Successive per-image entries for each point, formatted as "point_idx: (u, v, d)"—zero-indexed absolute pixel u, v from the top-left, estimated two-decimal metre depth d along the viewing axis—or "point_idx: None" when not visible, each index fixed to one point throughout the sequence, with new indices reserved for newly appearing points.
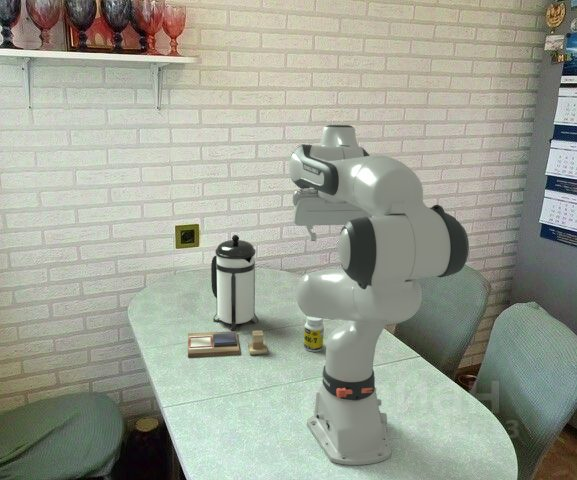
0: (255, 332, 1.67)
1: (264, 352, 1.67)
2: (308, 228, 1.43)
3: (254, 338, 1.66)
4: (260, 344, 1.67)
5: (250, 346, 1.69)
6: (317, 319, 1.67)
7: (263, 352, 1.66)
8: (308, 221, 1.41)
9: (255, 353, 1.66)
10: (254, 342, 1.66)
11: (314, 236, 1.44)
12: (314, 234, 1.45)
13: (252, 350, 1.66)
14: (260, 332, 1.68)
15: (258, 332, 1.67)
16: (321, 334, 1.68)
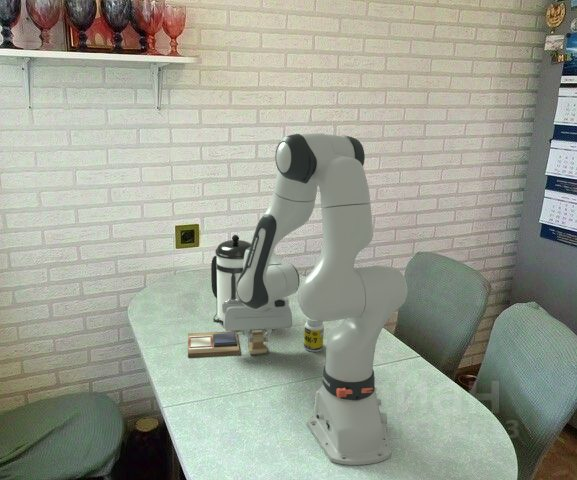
0: (255, 332, 1.67)
1: (264, 352, 1.67)
2: (245, 332, 1.65)
3: (254, 338, 1.66)
4: (260, 344, 1.67)
5: (250, 346, 1.68)
6: None
7: (263, 351, 1.66)
8: (236, 327, 1.64)
9: (255, 353, 1.66)
10: (254, 342, 1.66)
11: (251, 338, 1.66)
12: (251, 336, 1.67)
13: (252, 350, 1.66)
14: (260, 332, 1.68)
15: (258, 332, 1.67)
16: (321, 334, 1.68)
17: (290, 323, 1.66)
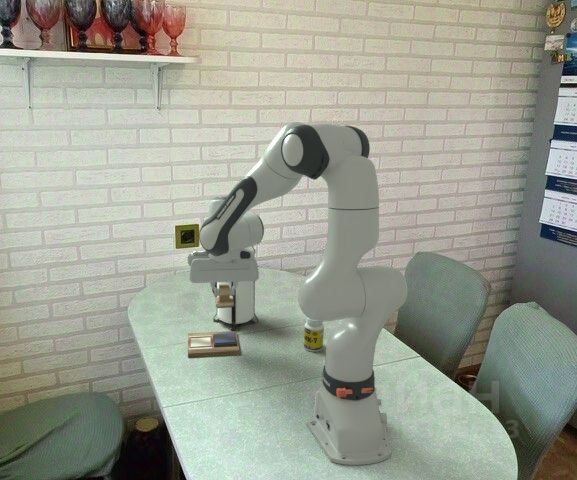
0: (221, 285, 1.67)
1: (230, 305, 1.66)
2: (211, 285, 1.65)
3: (220, 291, 1.65)
4: (226, 297, 1.66)
5: (217, 299, 1.68)
6: None
7: (229, 304, 1.66)
8: (201, 279, 1.63)
9: (221, 306, 1.66)
10: (220, 295, 1.66)
11: (217, 291, 1.66)
12: (217, 290, 1.66)
13: (218, 303, 1.66)
14: (226, 285, 1.67)
15: (224, 285, 1.67)
16: (321, 334, 1.68)
17: (256, 276, 1.65)
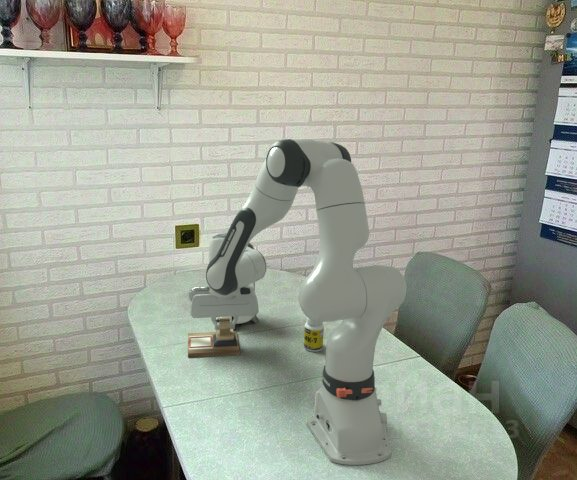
0: (222, 319, 1.70)
1: (231, 338, 1.69)
2: (212, 319, 1.68)
3: (221, 324, 1.68)
4: (227, 331, 1.69)
5: (217, 333, 1.71)
6: None
7: (230, 338, 1.69)
8: (202, 314, 1.66)
9: (222, 339, 1.69)
10: (221, 328, 1.69)
11: (218, 326, 1.69)
12: (218, 324, 1.70)
13: (219, 336, 1.69)
14: (227, 319, 1.70)
15: (225, 319, 1.70)
16: (321, 334, 1.68)
17: (256, 311, 1.68)
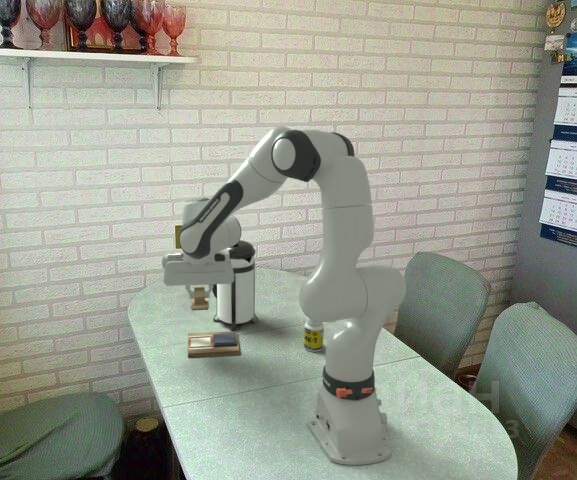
0: (197, 287, 1.66)
1: (205, 307, 1.65)
2: (186, 287, 1.64)
3: (195, 293, 1.64)
4: (201, 299, 1.65)
5: (192, 302, 1.67)
6: None
7: (204, 307, 1.65)
8: (176, 282, 1.62)
9: (196, 308, 1.65)
10: (195, 297, 1.65)
11: (192, 294, 1.65)
12: (192, 292, 1.65)
13: (193, 305, 1.65)
14: (202, 287, 1.66)
15: (200, 287, 1.66)
16: (321, 334, 1.68)
17: (232, 279, 1.64)
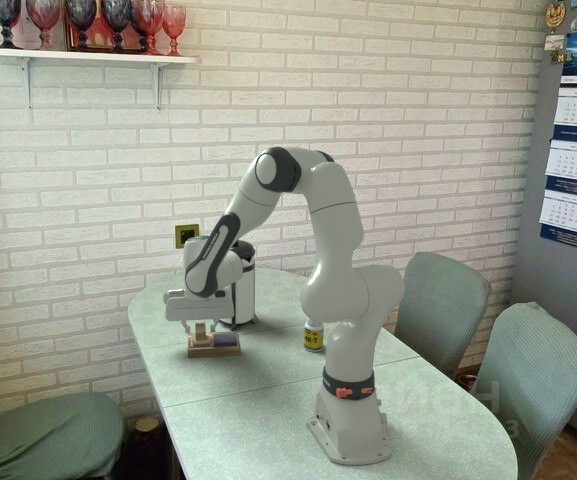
0: (198, 323, 1.69)
1: (206, 343, 1.68)
2: (182, 322, 1.67)
3: (196, 329, 1.68)
4: (202, 335, 1.68)
5: (193, 337, 1.70)
6: None
7: (205, 342, 1.68)
8: (177, 317, 1.65)
9: (197, 344, 1.68)
10: (196, 333, 1.68)
11: (188, 329, 1.68)
12: (188, 327, 1.68)
13: (194, 341, 1.68)
14: (203, 323, 1.69)
15: (201, 323, 1.69)
16: (321, 334, 1.68)
17: (232, 314, 1.67)
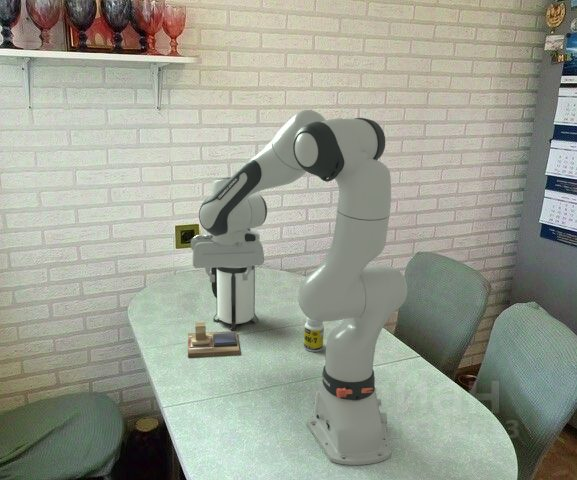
0: (198, 323, 1.69)
1: (206, 343, 1.68)
2: (206, 270, 1.59)
3: (196, 329, 1.68)
4: (202, 335, 1.68)
5: (193, 337, 1.70)
6: None
7: (205, 342, 1.68)
8: (205, 264, 1.57)
9: (197, 344, 1.68)
10: (196, 333, 1.68)
11: (213, 277, 1.60)
12: (213, 276, 1.60)
13: (194, 341, 1.68)
14: (203, 323, 1.69)
15: (201, 323, 1.69)
16: (321, 334, 1.68)
17: (262, 260, 1.60)
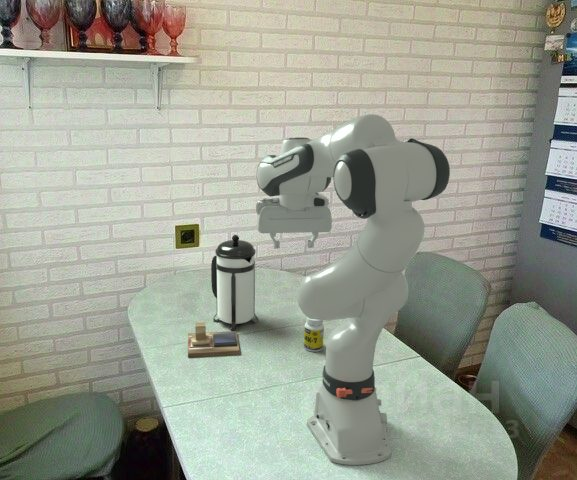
0: (198, 323, 1.69)
1: (206, 343, 1.68)
2: (271, 236, 1.52)
3: (196, 329, 1.68)
4: (202, 335, 1.68)
5: (193, 337, 1.70)
6: None
7: (205, 342, 1.68)
8: (271, 229, 1.50)
9: (197, 344, 1.68)
10: (196, 333, 1.68)
11: (277, 243, 1.53)
12: (278, 242, 1.53)
13: (194, 341, 1.68)
14: (203, 323, 1.69)
15: (201, 323, 1.69)
16: (321, 334, 1.68)
17: (329, 226, 1.53)
